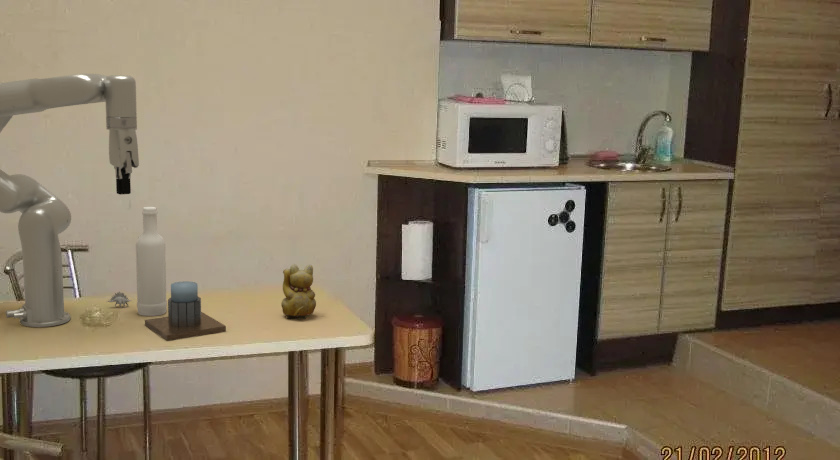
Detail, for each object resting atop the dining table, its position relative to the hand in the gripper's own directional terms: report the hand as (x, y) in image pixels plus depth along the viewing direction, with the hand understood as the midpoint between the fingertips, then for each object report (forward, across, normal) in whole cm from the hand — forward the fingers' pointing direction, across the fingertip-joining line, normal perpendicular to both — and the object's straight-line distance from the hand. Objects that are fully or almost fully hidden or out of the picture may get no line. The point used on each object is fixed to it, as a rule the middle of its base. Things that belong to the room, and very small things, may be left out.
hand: (123, 193), depth 229 cm
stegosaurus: (+35, +16, -3) cm, 39 cm away
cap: (+31, -13, -11) cm, 35 cm away
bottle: (+35, +6, -9) cm, 37 cm away
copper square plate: (+35, -13, -11) cm, 39 cm away
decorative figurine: (+35, -19, -42) cm, 58 cm away
